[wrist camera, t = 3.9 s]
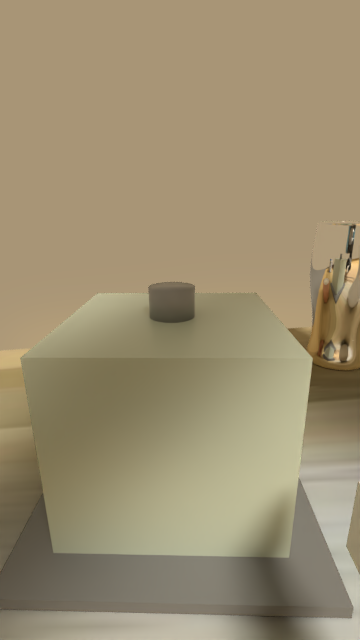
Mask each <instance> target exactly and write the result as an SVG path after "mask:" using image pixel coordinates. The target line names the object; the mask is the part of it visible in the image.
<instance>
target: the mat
mask: <svg viewBox="0 0 360 640" xmlns="http://www.w3.org/2000/svg"><path fill="white" fill-rule="evenodd" d="M0 609H13V610H53V611H92V612H132V613H172V614H211V615H251V616H291V617H330V618H351V617H352V612H353V605H352V603H351V601H350V598H349V596H348V593H347V591H346V589H345V586H344V584H343V582H342V579H341V577H340V574H339V572H338V570H337V567H336V565H335V562H334V560H333V558H332V555H331V553H330V550H329V548H328V546H327V543H326V541H325V538H324V536H323V534H322V531H321V529H320V527H319V524H318V522H317V519H316V517H315V515H314V512H313V510H312V507H311V505H310V503H309V500H308V498H307V495H306V493H305V491H304V488H303V486H302V484H301V481H300V479H299V478H298V487H297V495H296V503H295V512H294V520H293V528H292V537H291V545H290V553H289V558H278V557H227V556H177V555H127V554H77V553H53V548H52V542H51V536H50V530H49V524H48V518H47V513H46V507H45V501H44V495H43V494H42V496H41V498H40V499H39V501H38V503H37V505H36V507H35V509H34V511H33V513H32V515H31V516H30V518H29V520H28V522H27V524H26V526H25V528H24V530H23V532H22V533H21V535H20V537H19V539H18V541H17V543H16V545H15V547H14V548H13V550H12V552H11V554H10V556H9V558H8V560H7V562H6V564H5V565H4V567H3V569H2V571H1V573H0Z"/></svg>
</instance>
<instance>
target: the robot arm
mask: <svg viewBox="0 0 360 640" xmlns="http://www.w3.org/2000/svg"><path fill="white" fill-rule="evenodd" d="M346 547H347V549H348V551H349V553H350V555H351V557H352V559H353V561H354V563H355V566H356V568H357V570H358V572H359V574H360V481H358V486H357V491H356V497H355V502H354V507H353V513H352V518H351V523H350V529H349V534H348V539H347V545H346Z"/></svg>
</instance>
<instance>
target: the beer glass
mask: <svg viewBox="0 0 360 640" xmlns="http://www.w3.org/2000/svg"><path fill="white" fill-rule="evenodd" d="M310 288H311V302H312V316H313V317H312V318H313V320H312V331H311V335H310V339H309V342H308V345H307V348H306V351H307V352H308V353H309V355H310V356H311V357H312V358H313V361H312V363H314V364H316V365H318V366H321V367H324V368H328V369H334V370H355V369H358V368H360V221H327V222H318V224H317V231H316V236H315V240H314V246H313V252H312V259H311V271H310Z"/></svg>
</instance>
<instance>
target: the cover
mask: <svg viewBox="0 0 360 640" xmlns="http://www.w3.org/2000/svg"><path fill="white" fill-rule="evenodd" d="M148 288H149V293H106V294H105V293H99V294H98V293H97V294H96V295H95V296H94V297H93V298H91V299H90V300H89V301H88V302H87V303H85V304H84V305H83V306H82V307H81V308H79V309H78V310H77V311H76V312H75V313H73V314H72V315H71V316H70V317H69V318H67V319H66V320H65V321H64V322H63V323H61V324H60V325H59V326H58V327H57V328H56V329H55V330H53V331H52V332H51V333H50V334H48V335H47V336H46V337H45V338H44V339H42V340H41V341H40V342H39V343H38V344H36V345H35V346H34V347H33V348H32V349H30V350H29V351H28V352H27V353H26V354H24V355H23V356H22V357H21V364H22V370H23V376H24V382H25V388H26V394H27V400H28V406H29V411H30V417H31V423H32V429H33V435H34V441H35V447H36V453H37V459H38V465H39V471H40V477H41V483H42V489H43V495H44V501H45V507H46V513H47V518H48V524H49V530H50V536H51V542H52V548H53V553H77V554H127V555H177V556H227V557H278V558H289V553H290V545H291V537H292V528H293V520H294V512H295V503H296V495H297V487H298V478H299V470H300V462H301V453H302V445H303V437H304V428H305V420H306V411H307V403H308V395H309V386H310V378H311V370H312V361H313V358H312V357H311V356H310V355H309V353H308V352H307V351H306V350H305V349H304V348H303V346H302V345H301V344H300V343H299V342H298V341H297V340H296V338H295V337H294V336H293V335H292V334H291V333H290V331H289V330H288V329H287V328H286V327H285V326H284V325H283V323H282V322H281V321H280V320H279V319H278V318H277V317H276V315H275V314H274V313H273V312H272V311H271V310H270V308H269V307H268V306H267V305H266V304H265V303H264V302H263V300H262V299H261V298H260V297H259V296H258V295H257V293H195V286H194V285H192V284H189V283H182V282H164V283H156V284H153V285H150V286H149V287H148Z"/></svg>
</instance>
